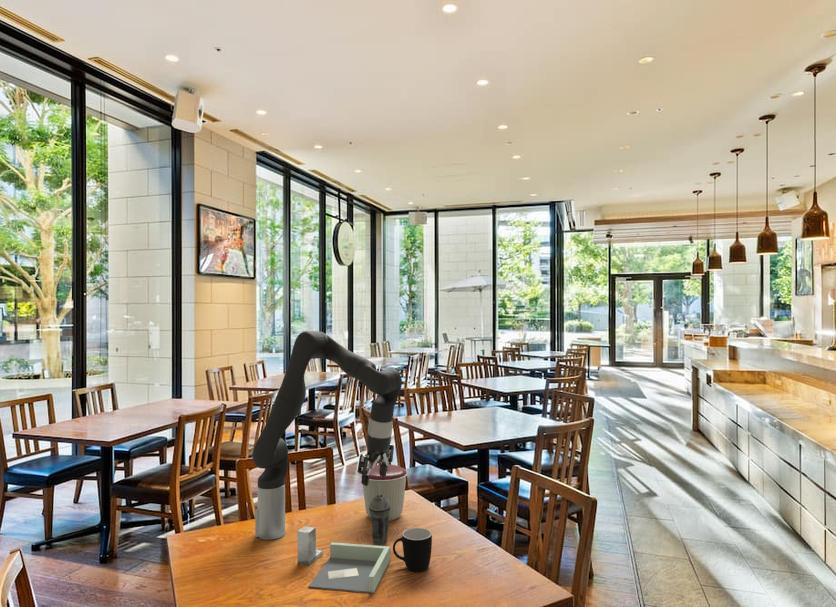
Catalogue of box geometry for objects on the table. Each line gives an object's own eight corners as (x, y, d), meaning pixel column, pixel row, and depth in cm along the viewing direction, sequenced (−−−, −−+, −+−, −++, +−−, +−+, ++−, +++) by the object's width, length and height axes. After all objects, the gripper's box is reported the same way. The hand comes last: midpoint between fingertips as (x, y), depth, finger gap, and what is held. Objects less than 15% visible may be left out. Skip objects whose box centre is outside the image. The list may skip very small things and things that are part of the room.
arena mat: (308, 587, 147) (308, 585, 147) (331, 556, 166) (331, 555, 166) (374, 593, 143) (374, 591, 143) (390, 561, 162) (390, 559, 162)
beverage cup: (392, 538, 179) (391, 479, 179) (389, 547, 172) (388, 486, 172) (371, 537, 180) (370, 478, 180) (367, 546, 172) (366, 485, 173)
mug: (434, 561, 162) (433, 528, 162) (430, 575, 153) (429, 540, 153) (395, 558, 164) (395, 526, 164) (390, 573, 155) (389, 538, 155)
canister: (403, 506, 209) (402, 452, 209) (412, 523, 191) (412, 465, 191) (358, 510, 205) (357, 456, 205) (363, 528, 187) (362, 469, 188)
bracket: (308, 565, 160) (308, 532, 160) (297, 563, 161) (297, 531, 161) (322, 554, 167) (322, 523, 167) (311, 552, 169) (311, 521, 169)
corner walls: (308, 587, 147) (308, 571, 147) (331, 556, 166) (331, 542, 166) (374, 593, 143) (374, 576, 144) (390, 561, 162) (390, 546, 162)
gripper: (385, 422, 171) (379, 468, 173) (355, 433, 159) (349, 483, 162) (403, 430, 166) (396, 477, 169) (373, 442, 155) (367, 493, 157)
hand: (373, 480), depth 165 cm, fingers open, 8 cm apart
